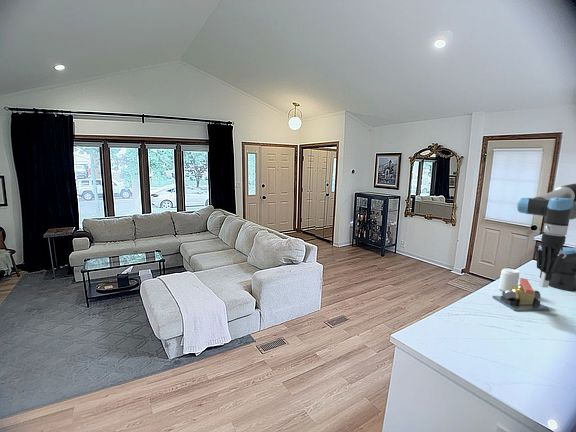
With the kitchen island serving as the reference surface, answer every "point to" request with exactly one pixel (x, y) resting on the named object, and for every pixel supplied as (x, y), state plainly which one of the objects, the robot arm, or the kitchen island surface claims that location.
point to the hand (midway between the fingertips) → (543, 286)
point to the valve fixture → (521, 300)
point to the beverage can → (508, 278)
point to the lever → (526, 286)
